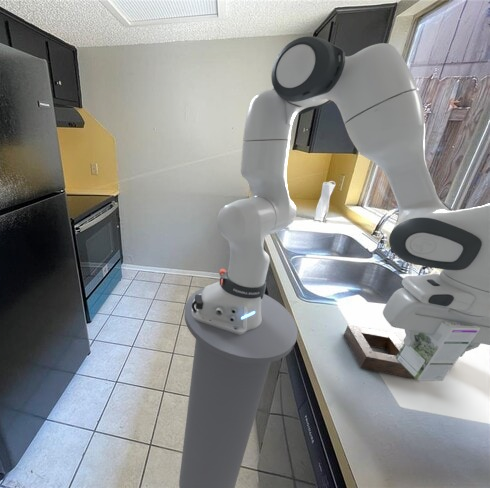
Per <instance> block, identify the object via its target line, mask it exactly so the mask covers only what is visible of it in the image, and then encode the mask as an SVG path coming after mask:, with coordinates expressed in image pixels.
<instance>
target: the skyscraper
mask: <svg viewBox="0 0 490 488" xmlns="http://www.w3.org/2000/svg"><path fill="white" fill-rule="evenodd" d="M321 186H322V187H321V193H320V197H319V200H318V202H317V205H316V209H315V213H314V219H313V220H314V222H315V221H316V222H321V223H326V221H327V217H328V213H329V210H330V204H331V203H330V199H331V195H332V193H333V192H334V190H335V187H336V182H335V181H333V180H330V181H324V182H323V183H322V185H321Z"/></svg>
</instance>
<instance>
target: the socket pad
mask: <svg viewBox="0 0 490 488" xmlns="http://www.w3.org/2000/svg"><path fill="white" fill-rule="evenodd" d="M343 337H344V339H345V341H346V343H347V344H348V346H349V349H350V351H351V352H352V355H353V356H354V357H355V359H356V361H357V363H358V365H359V368H360V369H365V370H368V371H369V370H370V371H375V372H379V373H384V374H389V375H393V376H399V377H403V378H408V379H413V380H416V379H415V378H414V377H413V376H412V375H411V374H410V373H409V372H408V371H407V370H406V369H405V368H404V367H403V366H402V365H401V364H400V363H399V362H398V361H397V360H396V359H395V357H396V356H397V354H398V352H399V351H400V349H401V347H402V346H403V344H404V342H402V341H401V339H400V338H399V336H398V335H397V334H396V333H394V332H389V331H384V330H378V329H372V328H366V327H361V326H355V325H349V324H347V326H346V329H345V331H344V333H343ZM372 347H374V348H379V349H383V350H384V351H385V352H386V353H383V352H379V351H374V350H373V349H372Z"/></svg>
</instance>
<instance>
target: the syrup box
mask: <svg viewBox="0 0 490 488" xmlns="http://www.w3.org/2000/svg"><path fill="white" fill-rule="evenodd" d="M479 330H480V327H477V326H473V325H469V324H463V323H456V322H442V323H441V324H440V326H439V328H438V329H437V331H436V333H435V334H427V333H422V332H420V333H419V334H418V335H415V334H414V336H415V337H416V338H417V340H418V341H419V342H420V343H419V345H417V348H413V347H408V346H406V344H405V343H404V342H403V346H402V347H401V349H400V351H399V352H398V354H397V356H396V357H395V359H396V360H397V361H398V362H399V363H400V364H401V365H402V366H403V367H404V368H405V369H406V370H407V371H408V372H409V373H410V374H411V375H412V376H413V377H414V378H415V379H414V380H416V381H422V382H442V381H444V379H445V378H446V376H447V375H448V374H449V372H450V370H451V369H452V368H453V366H454V365H455V364H456V362H458V360H459V358H461V357H460V356H461V354H462V353H463V352H464V350H465V349H466V348H467V346H468V345H469V344H470V342H471V341H472V340H473V338H474V337H475V336H476V334H477V333H478V332H479Z"/></svg>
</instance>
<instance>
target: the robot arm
mask: <svg viewBox="0 0 490 488" xmlns="http://www.w3.org/2000/svg"><path fill="white" fill-rule="evenodd" d="M270 74H271V85H272V88H271V89H266V90H263V91H261V92H259V93H257V94H256V95H255V96H254V97H252V99H251V100H250V103H249V105H248V109H247V112H246V118H245V121H244V128H243V136H242V146H241V158H240V159H241V161H240V174H241V176H242V177H243V178H244V180H246V181H247V184H248V186H249V192H250V197H249V198H241V199H237V200H234V201H233V202H230V203H228V204H226V205H224V206H223V207H221V209H220V210H219V212H218V215H217V220H216V222H217V223H216V224H217V229H218V231H219V233H220V235H221V236H222V237H223V238H224V239H225V240H226V241H227V242H228V246H229V263H228V270H226V269H225V268H220V269H219V274H218V275H219V281H216V282H213V283H210V284H208V285H205V287H203V288H204V290H203V291H202V293H201V294H199V295H195V299H194V301H193V303H192V309H191V312H192V316H193V318H194V319H195V320H197V321H200V322H203V323H206V324H209V325H212V326H215V327H217V328H220V329H223V330H226V331H229V332H232V333H235V334H238V335H242V334H244V333H245V332H246V331H248V330H251V329H254V328H257V327H258V326H259V325H260V324H261V322H262V317H261V301H262V299H263V295H264V294H266V293H265V292H266V288H267V281H266V279H267V275H268V271H269V267H270V263H271V258H270V255H269V254H268V253H267V252H266V250H265V247H264V244H265V243H264V242H265V239H266V237H267V236H269V235H272V234H276V233H280V232H281V231H284V229H286V228H288V227H289V226H290V225H291V224H293V223H294V221H295V220H296V216H297V206H296V204H295V203H294V201H293V200H292V199H291V197H290V192H289V187H288V179H287V170H288V163H289V162H288V161H289V152H290V144H291V137H292V136H291V135H292V130H293V129H292V128H293V123H294V120H295V118H296V116H297V115H304V114H306V113H308V112H312V111H313V110H317V109H319V108H321V107H324V106H325V105H327V104H329V103H331V102H333V103H334V104H335V105H336V106H337V108H338V110H339V113H340V115H341V118H342V121H343V124H344V127H345V131H346V132H347V135H348V137H349V139H350V141H351V143H352V144H353V145H354V147H355V149H356V150H357V152H358V153H359V154H360V155H361V156H363V157H364V158H366V159H367V160H370V162H372V163H374V164H375V165H376V166H378V168H380V170H382V172H383V173H384V175H385V177H386V179H387V181H388V184H389V186H390V189H391V191H392V194H393V197H394V199H395V202H396V204H397V208H398V215H397V218H396V222H395V225H394V227H393V228H392V231H391V232H390V234H389V238H388V243H389V244H388V245H389V247H390V250H391V251H392V253H393V254H394V255H395V256H396V257H397V258H398V259H400V260H402V261H404V262H406V263H409V264H412V265H416V266H422V267H427V268H432V269H438V270H441V271H440V272H434V273H427V274H416V275H407V276H405V277H403V279H402V281H401V285H402V286H403V287H400V288H398V289H397V290H395V291H393V293H392V295H391V296H390V297H389V299H388V301H387V302H386V304H385V306H384V308H383V311H382V315H383V317H384V319H385V321H386V322H387V323H388V324H389V325H390V326H391V327H392V328H395V329H399V330H400V329H401V330H404V332H405V337H404V338H403V344H404V343H405V344H406V346H408V347H413V348H417V345H419V343H420V342H419V341H418V340H417V338H416V337H415V336H414V334H415V335H418V334H419V333H420V332H422V333H427V334H435V333H436V331H437V329H438V328H439V326H440V324H441V323H442V322H456V323H463V324H469V325H473V326H477V327H480V330H479V332H478V333H477V334H476V336H475V337H474V338H473V340H472V341H471V342H470V344H469V345H468V346H467V348H466V349H465V350H464V352H463V353H462V354H461V356H460V357H459V358H461V357H462V358H463V356H464V355H465V353H466V352H469V351H472V350H474V349H477V348H479V346H480V345H486V346H490V202H489V203H487V204H484V205H481V206H475V207H470V208H463V209H457V210H455V209H453V208H452V207H451V206H450V205H448V204H447V203H445V202H444V201H443V200H442V198H440V196H439V194H438V192H437V189H436V187H435V183H434V181H433V178H432V176H431V173H430V170H429V168H428V165H427V162H426V155H425V141H426V139H425V138H426V117H425V110H424V104H423V100H422V97H421V94H420V90H419V88H418V85H417V82H416V80H415V78H414V75H413V74H412V71H411V69H410V67H409V66H408V65H407V62H406V61H405V59H404V58H403V56H402V54H401V53H400V52H399V51H398V49H397V48H396V47H395V46H394V45H392V44H391V43H385V42H382V43H381V42H380V43H375V44H372V45H369V46H367V47H365V48H362V49H361V50H359V51H357V52H356V53H354V54H352V55H348V56H346V51H345V49H343V48H342V47H339V46H338V45H335V44H334V43H331V42H330V41H328V40H326V39H324V38H322V37H318V36H310V35H308V36H307V35H306V36H302V37H301V36H300V37H298V38H296V39H293V40H292V41H290V42H289V43H287V44H286V45H285V46H284V47H283V48H282V49H281V50H280V52H279V53H278V54H277V57H276V58H275V60H274V63H273V65H272V69H271V73H270Z"/></svg>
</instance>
